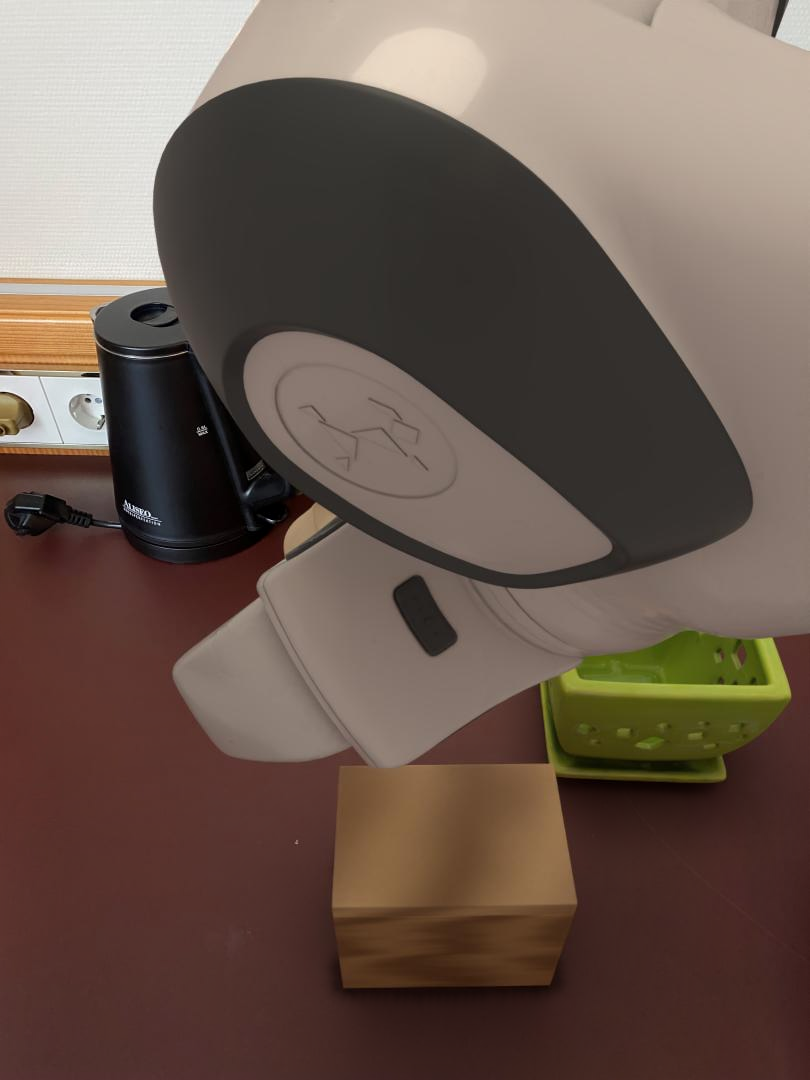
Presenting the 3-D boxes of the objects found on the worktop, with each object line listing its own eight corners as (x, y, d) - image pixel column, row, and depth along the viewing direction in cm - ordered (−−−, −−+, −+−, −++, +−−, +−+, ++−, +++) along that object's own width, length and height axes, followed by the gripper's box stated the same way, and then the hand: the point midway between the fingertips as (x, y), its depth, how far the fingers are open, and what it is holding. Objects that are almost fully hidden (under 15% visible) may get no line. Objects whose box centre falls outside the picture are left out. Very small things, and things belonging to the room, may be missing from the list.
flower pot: (534, 804, 55) (558, 691, 46) (519, 646, 65) (536, 530, 56) (740, 809, 54) (803, 697, 46) (692, 650, 64) (736, 534, 56)
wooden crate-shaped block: (343, 988, 46) (331, 907, 39) (348, 857, 52) (339, 765, 44) (550, 985, 46) (578, 904, 39) (532, 855, 52) (554, 763, 44)
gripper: (655, 321, 30) (454, 432, 42) (218, 606, 20) (110, 650, 31) (732, 463, 31) (514, 534, 43) (351, 814, 20) (198, 781, 32)
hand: (341, 585), depth 37 cm, fingers closed on candle, 5 cm apart
